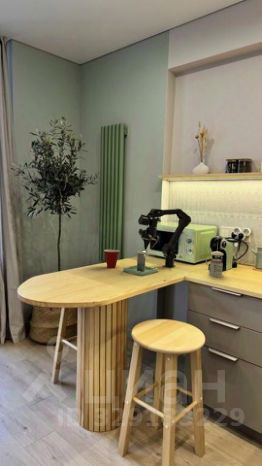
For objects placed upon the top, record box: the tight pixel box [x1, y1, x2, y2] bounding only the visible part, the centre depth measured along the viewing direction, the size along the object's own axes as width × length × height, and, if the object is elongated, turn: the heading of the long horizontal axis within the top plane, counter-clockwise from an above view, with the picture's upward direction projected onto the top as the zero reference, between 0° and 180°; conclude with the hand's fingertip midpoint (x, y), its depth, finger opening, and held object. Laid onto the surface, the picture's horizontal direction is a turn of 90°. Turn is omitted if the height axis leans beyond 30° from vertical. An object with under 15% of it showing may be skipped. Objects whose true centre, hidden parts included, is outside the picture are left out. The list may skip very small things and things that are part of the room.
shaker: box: [136, 249, 147, 272], centre depth 207 cm, size 5×5×13 cm
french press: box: [205, 236, 224, 278], centre depth 205 cm, size 10×12×25 cm
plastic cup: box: [103, 249, 121, 269], centre depth 216 cm, size 11×11×12 cm
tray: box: [122, 264, 159, 277], centre depth 208 cm, size 16×16×2 cm
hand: (147, 249), depth 217 cm, fingers open, 9 cm apart
